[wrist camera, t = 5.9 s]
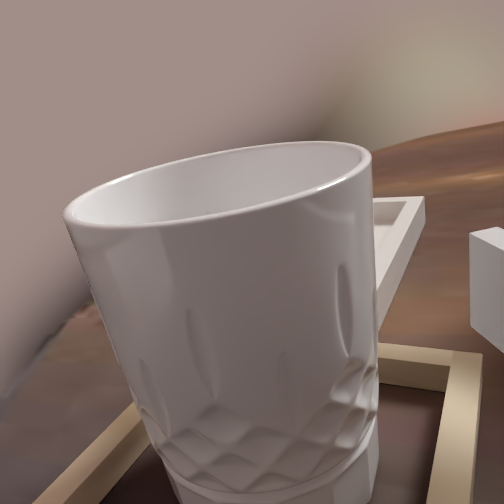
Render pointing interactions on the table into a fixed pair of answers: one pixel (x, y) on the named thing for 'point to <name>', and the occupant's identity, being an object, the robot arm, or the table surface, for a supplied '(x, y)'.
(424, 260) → the table surface
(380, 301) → the tray
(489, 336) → the robot arm
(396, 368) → the square wooden frame
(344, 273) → the white cup
